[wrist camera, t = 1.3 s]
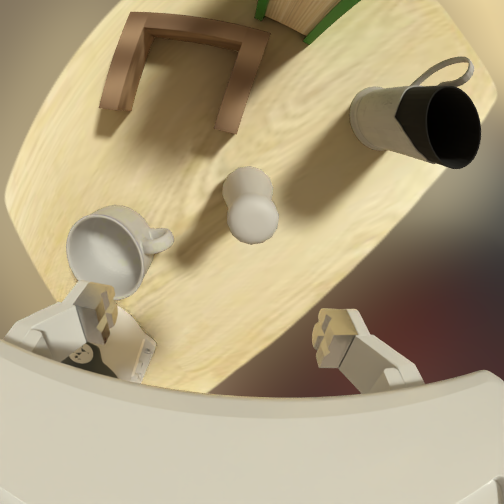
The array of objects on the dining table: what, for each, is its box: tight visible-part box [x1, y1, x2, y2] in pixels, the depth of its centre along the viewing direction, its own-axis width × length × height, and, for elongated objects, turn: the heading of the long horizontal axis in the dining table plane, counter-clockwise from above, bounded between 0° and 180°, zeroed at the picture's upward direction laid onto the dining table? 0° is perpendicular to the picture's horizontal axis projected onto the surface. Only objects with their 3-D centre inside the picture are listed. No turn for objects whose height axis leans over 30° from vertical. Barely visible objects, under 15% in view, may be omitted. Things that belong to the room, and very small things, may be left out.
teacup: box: [66, 205, 174, 300], centre depth 32 cm, size 14×11×8 cm
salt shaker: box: [223, 166, 279, 245], centre depth 28 cm, size 6×6×13 cm
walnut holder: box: [99, 12, 271, 134], centre depth 25 cm, size 12×16×4 cm
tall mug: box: [349, 57, 481, 169], centre depth 22 cm, size 9×14×15 cm, turn 152°
